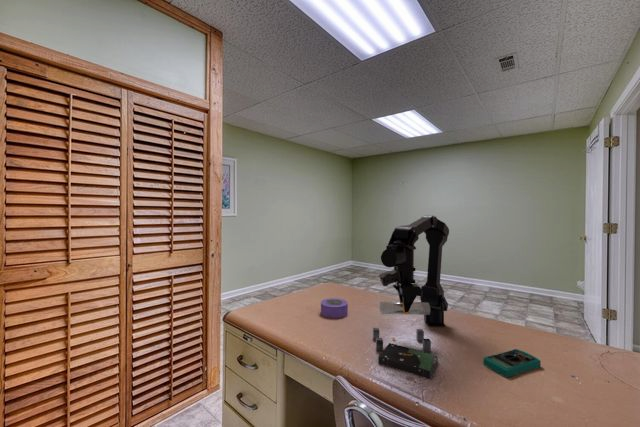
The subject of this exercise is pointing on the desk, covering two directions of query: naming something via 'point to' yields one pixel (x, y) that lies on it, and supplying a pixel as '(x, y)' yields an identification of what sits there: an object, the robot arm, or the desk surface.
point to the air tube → (398, 308)
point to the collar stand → (380, 341)
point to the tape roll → (334, 308)
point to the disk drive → (408, 360)
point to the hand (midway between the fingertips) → (404, 309)
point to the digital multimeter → (511, 362)
